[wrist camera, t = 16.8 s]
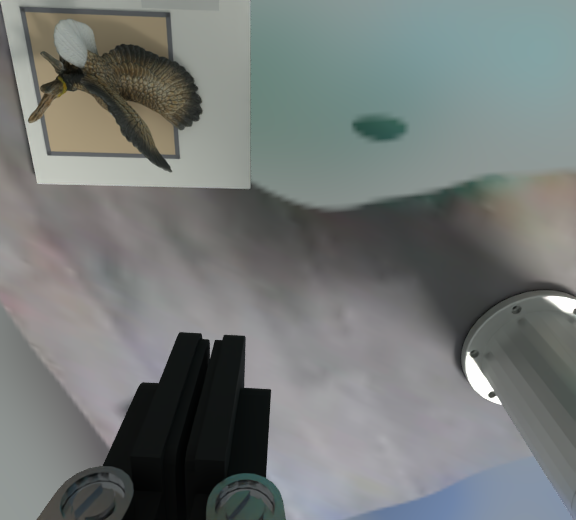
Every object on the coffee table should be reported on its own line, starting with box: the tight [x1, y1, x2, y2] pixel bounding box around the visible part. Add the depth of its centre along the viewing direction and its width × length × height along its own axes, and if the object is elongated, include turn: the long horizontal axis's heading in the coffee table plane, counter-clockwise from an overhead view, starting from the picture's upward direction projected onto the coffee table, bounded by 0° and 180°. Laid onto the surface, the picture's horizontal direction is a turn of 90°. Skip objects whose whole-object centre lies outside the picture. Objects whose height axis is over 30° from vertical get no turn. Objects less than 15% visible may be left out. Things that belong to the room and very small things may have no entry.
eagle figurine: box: [28, 19, 203, 172], centre depth 30 cm, size 8×7×9 cm
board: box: [0, 0, 251, 189], centre depth 30 cm, size 16×22×4 cm
